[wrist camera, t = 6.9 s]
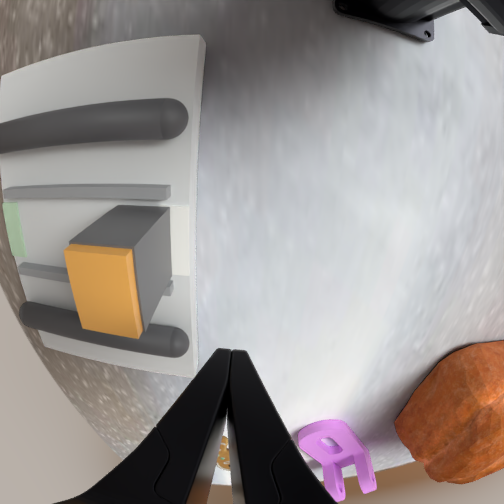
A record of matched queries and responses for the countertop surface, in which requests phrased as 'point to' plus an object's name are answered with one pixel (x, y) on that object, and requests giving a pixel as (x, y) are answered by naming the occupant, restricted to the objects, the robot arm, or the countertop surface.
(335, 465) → the bracket
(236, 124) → the countertop surface
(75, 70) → the panel
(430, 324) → the countertop surface
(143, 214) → the toggle
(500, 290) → the countertop surface
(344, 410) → the countertop surface
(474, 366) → the bread
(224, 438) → the cookie
